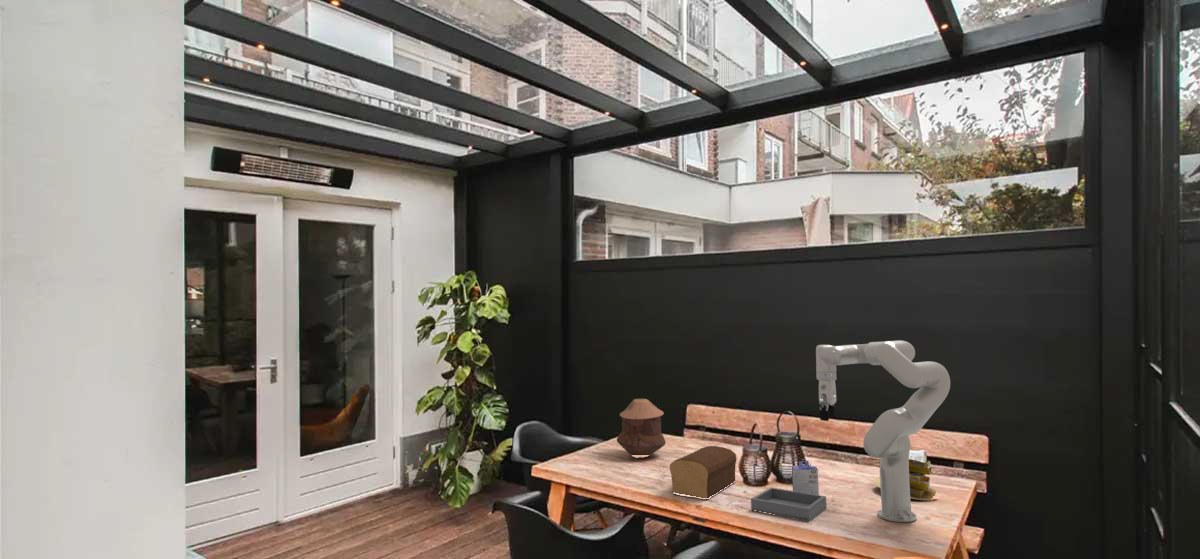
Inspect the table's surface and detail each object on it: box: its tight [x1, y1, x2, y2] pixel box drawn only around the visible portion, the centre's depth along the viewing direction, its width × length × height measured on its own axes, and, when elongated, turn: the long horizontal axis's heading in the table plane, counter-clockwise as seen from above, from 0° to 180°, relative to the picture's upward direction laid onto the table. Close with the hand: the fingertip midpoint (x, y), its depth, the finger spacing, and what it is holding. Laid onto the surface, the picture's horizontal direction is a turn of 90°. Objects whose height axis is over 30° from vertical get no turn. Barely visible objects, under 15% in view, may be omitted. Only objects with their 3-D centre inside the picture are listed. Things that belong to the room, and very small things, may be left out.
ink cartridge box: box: [791, 460, 820, 495], centre depth 246 cm, size 10×6×14 cm, turn 79°
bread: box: [669, 445, 738, 498], centre depth 263 cm, size 18×30×16 cm, turn 146°
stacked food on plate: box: [873, 449, 939, 501], centre depth 250 cm, size 25×25×17 cm
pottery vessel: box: [616, 398, 666, 456], centre depth 325 cm, size 26×26×30 cm
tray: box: [750, 487, 827, 523], centre depth 232 cm, size 22×18×4 cm
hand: (827, 418), depth 247 cm, fingers open, 9 cm apart
